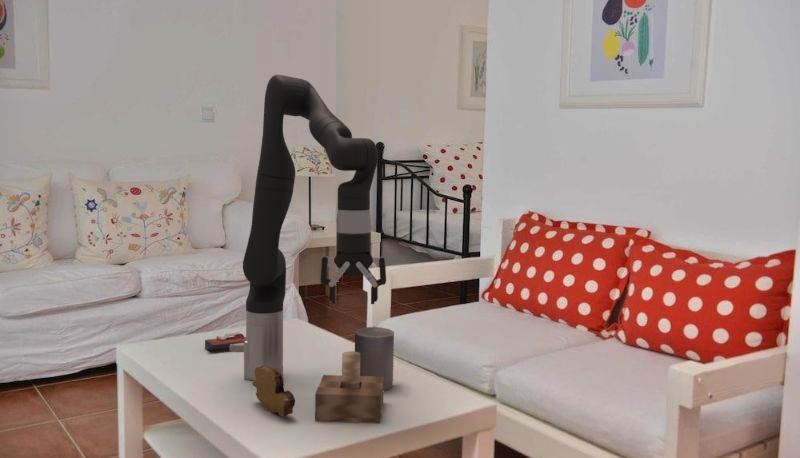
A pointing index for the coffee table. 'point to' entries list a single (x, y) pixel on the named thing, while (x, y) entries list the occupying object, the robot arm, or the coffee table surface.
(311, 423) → the coffee table surface
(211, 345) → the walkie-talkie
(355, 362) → the peg
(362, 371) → the pillar candle
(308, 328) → the coffee table surface
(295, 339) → the coffee table surface
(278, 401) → the wooden carving
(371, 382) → the socket block
